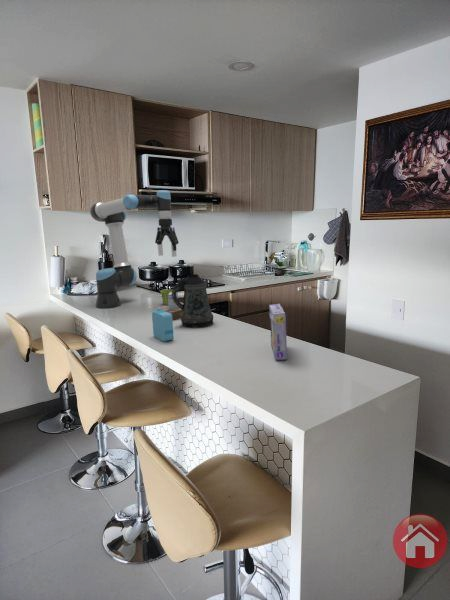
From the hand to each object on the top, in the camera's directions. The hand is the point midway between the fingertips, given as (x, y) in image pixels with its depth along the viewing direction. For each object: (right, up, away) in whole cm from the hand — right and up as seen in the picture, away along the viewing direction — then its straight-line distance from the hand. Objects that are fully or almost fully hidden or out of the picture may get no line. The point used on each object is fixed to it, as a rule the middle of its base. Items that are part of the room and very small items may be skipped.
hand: (167, 256), depth 227 cm
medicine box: (+5, -31, -14) cm, 34 cm away
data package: (+6, -43, -52) cm, 68 cm away
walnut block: (+5, -35, -13) cm, 38 cm away
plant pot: (-3, -28, +22) cm, 36 cm away
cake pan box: (+54, -46, -75) cm, 104 cm away
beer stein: (+18, -38, -30) cm, 52 cm away
